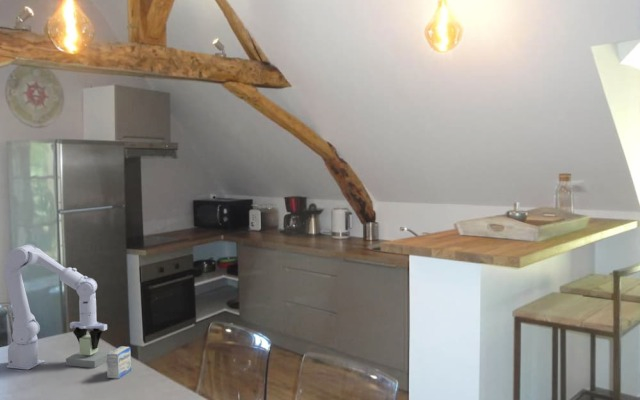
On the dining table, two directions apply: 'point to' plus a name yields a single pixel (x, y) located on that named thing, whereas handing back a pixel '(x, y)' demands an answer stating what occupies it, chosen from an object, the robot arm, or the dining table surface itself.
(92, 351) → the green block
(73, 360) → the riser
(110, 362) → the medicine box
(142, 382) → the dining table surface
